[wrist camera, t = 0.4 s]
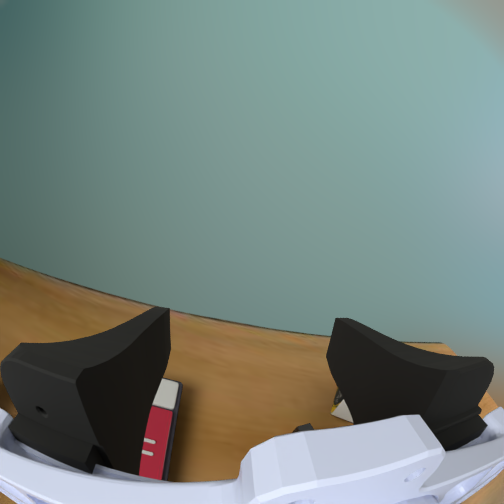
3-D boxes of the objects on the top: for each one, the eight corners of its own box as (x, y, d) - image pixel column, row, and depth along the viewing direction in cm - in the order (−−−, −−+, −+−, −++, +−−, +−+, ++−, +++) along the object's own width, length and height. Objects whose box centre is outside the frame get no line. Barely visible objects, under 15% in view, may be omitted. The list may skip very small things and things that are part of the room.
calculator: (44, 458, 12) (93, 350, 26) (57, 471, 14) (97, 372, 28) (164, 502, 14) (184, 378, 28) (163, 508, 16) (180, 397, 29)
